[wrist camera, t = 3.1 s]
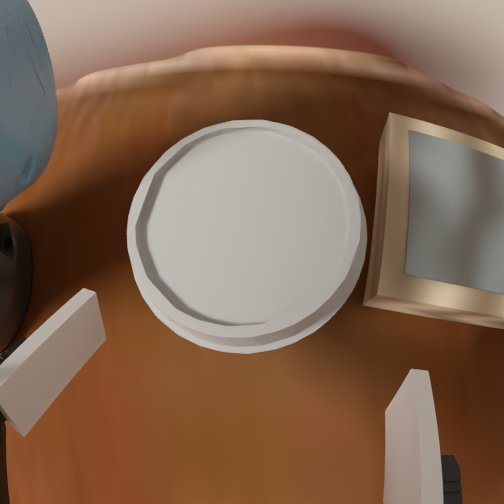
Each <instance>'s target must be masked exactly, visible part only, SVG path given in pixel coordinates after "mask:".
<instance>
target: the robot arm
mask: <svg viewBox="0 0 504 504" xmlns="http://www.w3.org/2000/svg"><path fill="white" fill-rule="evenodd" d="M57 122H58V108H57V95H56V87H55V79H54V74H53V69H52V65H51V60H50V56H49V52H48V49H47V45H46V42H45V39H44V36H43V33H42V30H41V28H40V25H39V22H38V20H37V18H36V15H35V14H34V12H33V9H32V7H31V6H30V4H29V2H28V1H27V0H0V212H1V211H2V210H3V209H4V207H5V206H6V204H7V203H8V202H9V201H10V200H12V199H13V198H15V197H16V196H17V195H19V194H20V193H21V192H23V191H24V190H26V189H27V188H28V187H30V186H31V185H32V184H33V183H34V182H35V181H36V180H37V179H38V178H39V177H40V176H41V174H42V173H43V171H44V170H45V168H46V166H47V164H48V162H49V160H50V158H51V155H52V152H53V148H54V145H55V140H56V133H57ZM31 280H32V257H31V249H30V244H29V241H28V238H27V235H26V233H25V231H24V230H23V228H22V227H21V226H20V225H19V224H18V223H17V222H16V221H14V220H13V219H11V218H9V217H8V216H6V215H4V214H3V213H0V352H1V351H3V350H4V349H5V348H6V347H7V346H8V345H9V344H10V342H11V341H12V340H13V338H14V337H15V335H16V333H17V331H18V329H19V327H20V325H21V323H22V320H23V317H24V314H25V311H26V308H27V304H28V300H29V295H30V289H31ZM105 340H106V335H105V331H104V326H103V322H102V318H101V313H100V309H99V304H98V299H97V294H96V292H94V291H91V290H88V289H85V288H83V289H82V290H80V291H79V292H78V293H77V294H76V295H75V296H74V297H72V298H71V299H70V300H69V301H68V302H67V303H66V304H64V305H63V306H62V307H61V308H60V309H59V310H58V311H57V312H56V313H54V314H53V315H52V316H51V317H50V318H49V319H48V320H47V321H46V322H45V323H44V324H42V325H41V326H40V327H39V328H38V329H37V330H36V331H35V332H34V333H33V334H32V335H31V336H30V337H29V338H28V339H26V338H25V337H24V338H22V339H20V340H18V341H16V342H14V343H13V344H12V345H11V346H10V347H9V348H8V349H7V350H6V352H3V353H2V354H1V355H0V504H10V502H9V492H8V481H7V466H6V427H5V424H4V422H5V421H6V420H7V421H8V422H9V424H10V425H11V426H12V427H13V428H14V429H15V430H16V431H18V432H19V433H20V434H21V435H23V436H24V437H25V436H26V435H27V434H28V432H29V431H30V430H31V428H32V427H33V426H34V425H35V423H36V422H37V421H38V420H39V418H40V417H41V416H42V415H43V413H44V412H45V411H46V410H47V408H48V407H49V406H50V405H51V404H52V402H53V401H54V400H55V399H56V397H57V396H58V395H59V394H60V393H61V391H62V390H63V389H64V388H65V387H66V385H67V384H68V383H69V382H70V381H71V379H72V378H73V377H74V376H75V375H76V374H77V372H78V371H79V370H80V369H81V368H82V366H83V365H84V364H85V363H86V362H87V361H88V359H89V358H90V357H91V356H92V355H93V354H94V353H95V351H96V350H97V349H98V348H99V347H100V346H101V345H102V343H103V342H104V341H105ZM460 481H461V478H460V468H459V465H458V463H457V461H456V459H455V457H454V456H453V455H440V445H439V436H438V428H437V420H436V413H435V407H434V400H433V394H432V388H431V383H430V377H429V372H428V371H426V370H418V369H411V370H410V371H409V373H408V375H407V377H406V378H405V380H404V382H403V383H402V385H401V387H400V388H399V390H398V392H397V393H396V395H395V396H394V398H393V400H392V401H391V403H390V404H389V406H388V407H387V409H386V410H385V480H384V498H383V504H462V494H461V491H462V490H461V483H460Z"/></svg>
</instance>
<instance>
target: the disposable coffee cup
mask: <svg viewBox="0 0 504 504" xmlns="http://www.w3.org/2000/svg"><path fill="white" fill-rule="evenodd" d="M127 245H128V252H129V256H130V260H131V264H132V269H133V274H134V278H135V281H136V283H137V285H138V287H139V290H140V292H141V294H142V296H143V298H144V300H145V301H146V303H147V304H148V305H149V307H150V308H151V310H152V311H153V312H154V314H155V315H156V316H157V318H159V319H160V320H161V321H162V322H163V323H164V324H166V325H167V326H168V327H169V328H170V329H172V330H173V331H174V332H175V333H176V334H178V335H179V336H181V337H183V338H185V339H187V340H189V341H191V342H193V343H195V344H197V345H199V346H202V347H206V348H210V349H213V350H217V351H221V352H231V353H245V354H249V353H256V352H263V351H269V350H275V349H278V348H281V347H284V346H287V345H289V344H292V343H295V342H296V341H298V340H300V339H302V338H304V337H306V336H308V335H310V334H311V333H313V332H315V331H316V330H317V329H319V328H320V327H321V326H322V325H324V324H325V323H326V322H327V321H328V320H330V319H331V317H332V316H333V315H334V314H335V313H336V312H337V311H338V310H339V309H340V308H341V307H342V306H343V304H344V303H345V301H346V300H347V298H348V297H349V295H350V294H351V292H352V291H353V289H354V287H355V285H356V283H357V281H358V278H359V276H360V273H361V270H362V267H363V264H364V261H365V253H366V245H367V227H366V218H365V214H364V210H363V207H362V203H361V199H360V197H359V195H358V193H357V191H356V189H355V187H354V185H353V183H352V180H351V178H350V176H349V174H348V172H347V171H346V169H345V168H344V166H343V165H342V163H341V162H340V160H339V159H338V158H337V157H336V156H335V155H334V154H333V153H332V152H331V151H330V150H329V149H328V148H327V147H326V146H324V145H323V144H322V143H321V142H319V141H318V140H317V139H315V138H314V137H312V136H310V135H308V134H306V133H304V132H302V131H300V130H298V129H296V128H294V127H292V126H289V125H285V124H280V123H276V122H271V121H267V120H232V121H229V122H225V123H221V124H217V125H213V126H209V127H206V128H203V129H201V130H199V131H197V132H195V133H193V134H191V135H189V136H187V137H185V138H183V139H182V140H180V141H179V142H178V143H176V144H175V145H174V146H172V147H171V148H170V149H168V150H167V151H166V152H165V153H164V154H163V155H162V156H161V157H160V158H159V160H158V161H157V162H156V163H155V164H154V165H153V166H152V168H151V169H150V170H149V171H148V173H147V174H146V175H145V176H144V178H143V180H142V182H141V184H140V186H139V188H138V190H137V192H136V194H135V196H134V198H133V202H132V205H131V209H130V212H129V216H128V225H127Z"/></svg>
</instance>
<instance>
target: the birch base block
mask: <svg viewBox="0 0 504 504" xmlns="http://www.w3.org/2000/svg"><path fill="white" fill-rule="evenodd" d="M363 305H364V306H369V307H374V308H380V309H385V310H391V311H396V312H402V313H408V314H413V315H419V316H425V317H431V318H437V319H443V320H449V321H455V322H461V323H467V324H473V325H480V326H486V327H493V328H499V329H504V148H501V147H499V146H496V145H494V144H491V143H488V142H486V141H483V140H480V139H478V138H475V137H472V136H469V135H466V134H463V133H460V132H457V131H454V130H451V129H448V128H445V127H442V126H438V125H435V124H431V123H428V122H425V121H421V120H417V119H414V118H410V117H406V116H402V115H398V114H394V113H390V112H389V115H388V118H387V121H386V124H385V127H384V130H383V133H382V136H381V139H380V142H379V160H378V178H377V192H376V205H375V216H374V226H373V235H372V244H371V252H370V260H369V267H368V274H367V281H366V288H365V294H364V300H363Z"/></svg>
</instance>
